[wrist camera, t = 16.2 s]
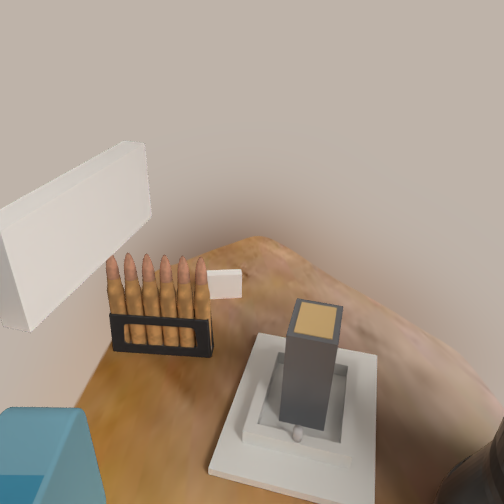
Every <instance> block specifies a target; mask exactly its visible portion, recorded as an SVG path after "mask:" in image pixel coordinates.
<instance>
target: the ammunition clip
mask: <svg viewBox="0 0 504 504" xmlns="http://www.w3.org/2000/svg"><path fill="white" fill-rule="evenodd" d="M106 273H107V283H108V285H107V293H108V299H109V305H110V311H111V313H110V314H109V317H110V325H111V334H112V343H113V350H114V351H117V352H132V353H146V354H161V355H176V356H191V357H206V358H210V357H211V356H212V352H213V347H214V342H213V331H212V319H211V309H210V292H209V288H208V281H207V270H206V266H205V263H204V260H203V258H202V257H199V259H198V261H197V265H196V272H195V291H194V305H193V292H192V288H191V282H190V274H189V268H188V264H187V262H186V259H185V258H184V257H183V256H181V258H180V260H179V264H178V288H177V302H176V291H175V288H174V284H173V279H172V271H171V266H170V263H169V260H168V258H167V257H166V255H163V257H162V260H161V264H160V293H159V290H158V287H157V284H156V278H155V273H154V268H153V265H152V261H151V259H150V257H149V255H148V254H145V256H144V258H143V265H142V277H143V289H142V292H141V288H140V285H139V281H138V277H137V271H136V267H135V263H134V261H133V258H132V256H131V255H130V254H129V253H127V254H126V257H125V261H124V274H125V293H124V288H123V285H122V283H121V278H120V275H119V269H118V266H117V262H116V260H115V258H114V256H113V255H112V256H110V257H109V258H108V259H107V260H106ZM142 296H143V300H142ZM159 296H160V299H159ZM125 298H126V299H125ZM144 314H145V315H144ZM194 317H195V319H194ZM195 334H196V337H195Z"/></svg>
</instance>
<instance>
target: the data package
mask: <svg viewBox="0 0 504 504" xmlns="http://www.w3.org/2000/svg"><path fill="white" fill-rule="evenodd" d="M0 504H106V496H105V492H104V488H103V484H102V480H101V476H100V472H99V467H98V463H97V459H96V455H95V451H94V447H93V443H92V439H91V435H90V431H89V427H88V423H87V418H86V415H85V412H84V411H83V410H82V409H81V408H49V407H10V408H7V409H6V410H5V411H3V412H2V413H1V414H0Z"/></svg>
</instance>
